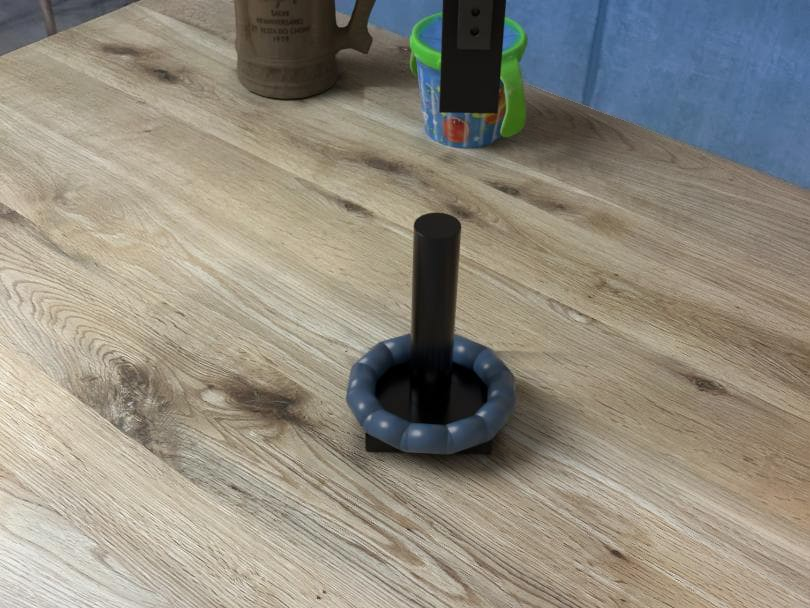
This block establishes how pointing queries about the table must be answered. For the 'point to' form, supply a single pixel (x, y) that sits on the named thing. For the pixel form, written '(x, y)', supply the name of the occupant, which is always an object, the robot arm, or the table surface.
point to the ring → (431, 435)
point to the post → (432, 341)
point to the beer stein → (295, 44)
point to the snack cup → (468, 126)
